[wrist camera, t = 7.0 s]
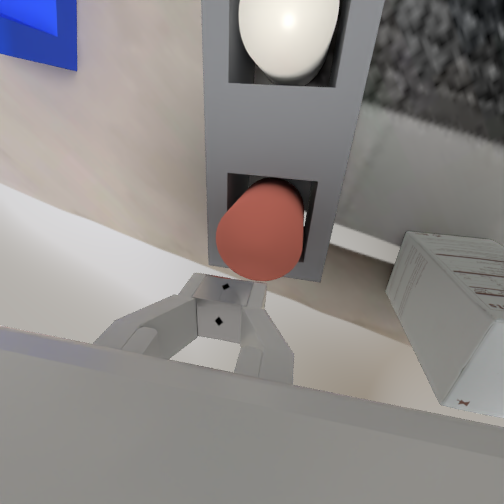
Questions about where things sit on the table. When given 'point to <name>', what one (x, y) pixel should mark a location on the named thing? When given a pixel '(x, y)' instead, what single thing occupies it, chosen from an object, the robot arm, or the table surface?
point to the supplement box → (454, 316)
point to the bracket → (40, 31)
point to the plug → (288, 36)
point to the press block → (282, 123)
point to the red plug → (263, 231)
